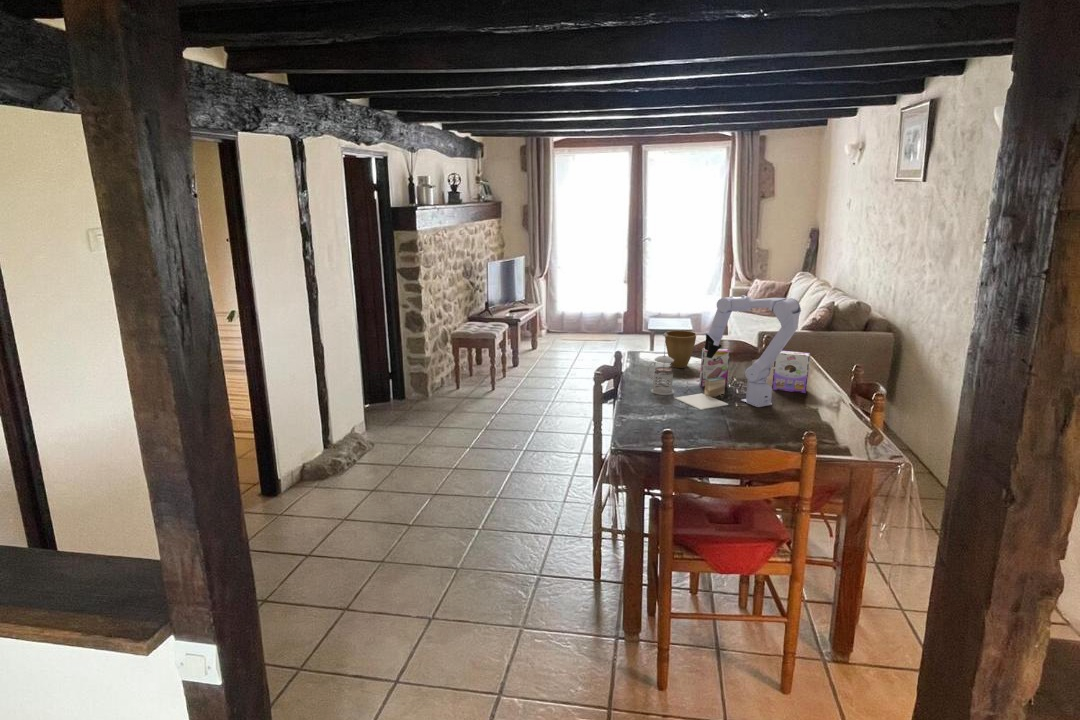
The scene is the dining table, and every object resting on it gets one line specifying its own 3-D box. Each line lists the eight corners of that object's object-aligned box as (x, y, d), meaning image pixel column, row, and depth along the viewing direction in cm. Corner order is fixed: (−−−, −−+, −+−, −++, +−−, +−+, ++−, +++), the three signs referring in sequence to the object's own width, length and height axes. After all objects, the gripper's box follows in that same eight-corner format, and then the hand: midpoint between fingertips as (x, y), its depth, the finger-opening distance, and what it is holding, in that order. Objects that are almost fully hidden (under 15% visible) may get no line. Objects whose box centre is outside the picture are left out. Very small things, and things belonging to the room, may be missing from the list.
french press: (672, 395, 276) (676, 336, 270) (644, 392, 280) (647, 334, 274) (675, 389, 285) (679, 331, 279) (648, 386, 289) (651, 329, 283)
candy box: (806, 390, 286) (811, 352, 282) (805, 393, 281) (810, 355, 277) (772, 386, 291) (776, 349, 287) (771, 389, 286) (774, 352, 282)
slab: (724, 394, 279) (725, 378, 277) (709, 397, 275) (710, 380, 273) (719, 392, 281) (720, 376, 279) (704, 395, 278) (705, 379, 276)
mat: (728, 405, 265) (728, 404, 265) (700, 409, 259) (700, 409, 259) (701, 394, 279) (701, 393, 279) (674, 398, 273) (674, 397, 273)
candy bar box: (700, 387, 288) (703, 350, 284) (699, 384, 293) (701, 347, 289) (727, 388, 287) (730, 351, 283) (725, 385, 292) (728, 348, 288)
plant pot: (676, 360, 333) (678, 329, 329) (700, 366, 322) (703, 334, 318) (656, 365, 324) (658, 332, 320) (680, 371, 313) (683, 338, 309)
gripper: (707, 315, 281) (697, 344, 287) (711, 329, 268) (700, 358, 274) (723, 319, 281) (713, 348, 287) (728, 333, 268) (717, 363, 274)
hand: (708, 353), depth 280 cm, fingers open, 7 cm apart
